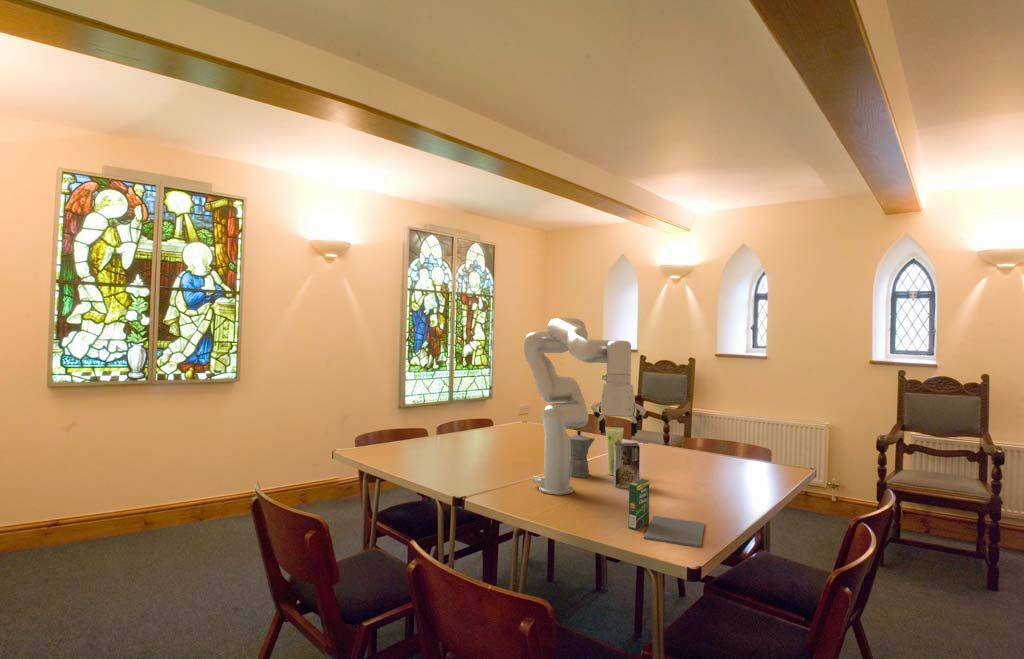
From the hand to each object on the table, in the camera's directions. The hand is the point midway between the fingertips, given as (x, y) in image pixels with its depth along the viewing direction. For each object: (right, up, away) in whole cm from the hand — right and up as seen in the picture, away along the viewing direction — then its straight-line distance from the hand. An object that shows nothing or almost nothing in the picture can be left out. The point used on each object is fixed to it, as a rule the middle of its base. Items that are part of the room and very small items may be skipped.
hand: (617, 434), depth 171 cm
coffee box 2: (+4, -26, -10) cm, 28 cm away
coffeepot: (-7, -27, +51) cm, 58 cm away
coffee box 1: (+10, -27, +36) cm, 46 cm away
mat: (+14, -26, -13) cm, 32 cm away
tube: (+9, -27, +53) cm, 60 cm away
